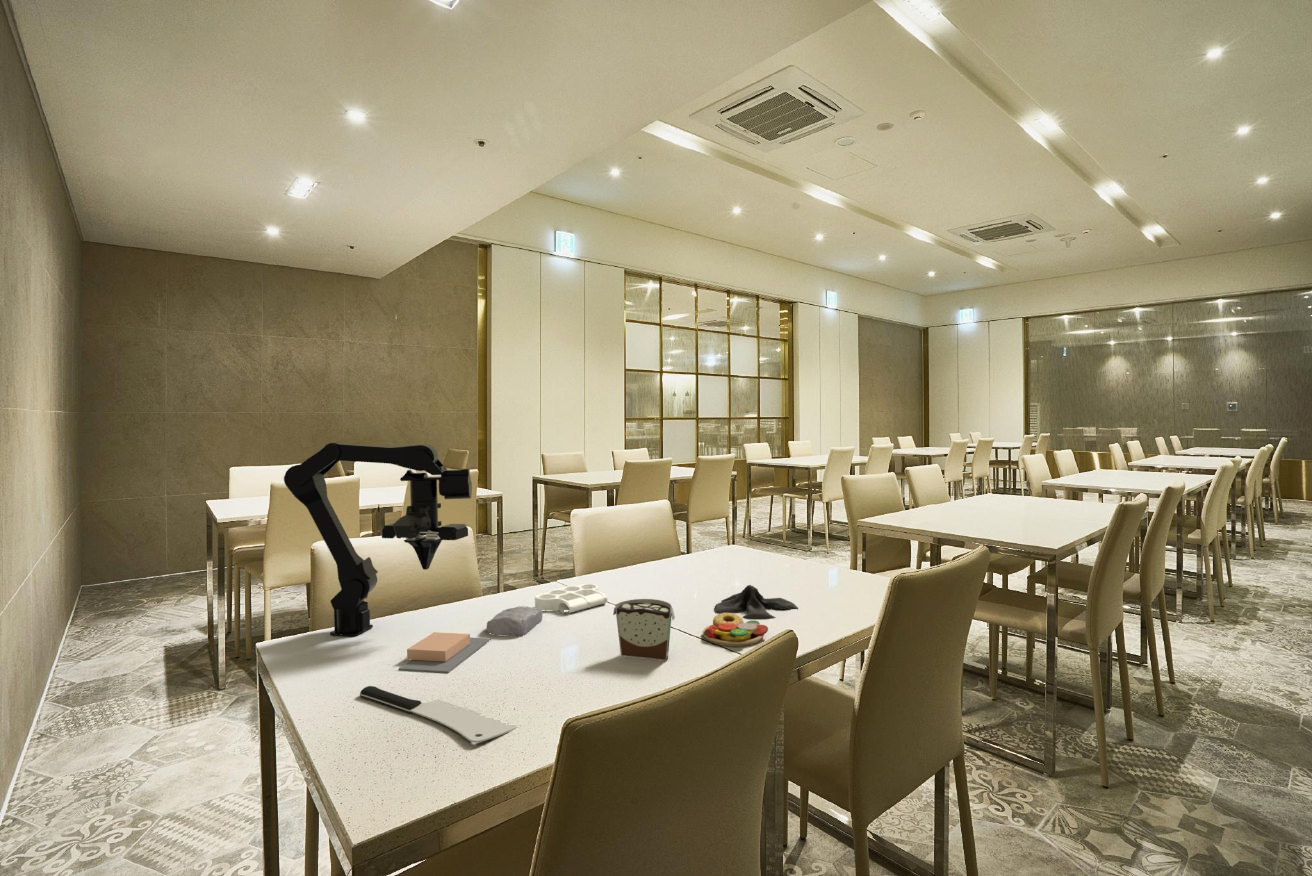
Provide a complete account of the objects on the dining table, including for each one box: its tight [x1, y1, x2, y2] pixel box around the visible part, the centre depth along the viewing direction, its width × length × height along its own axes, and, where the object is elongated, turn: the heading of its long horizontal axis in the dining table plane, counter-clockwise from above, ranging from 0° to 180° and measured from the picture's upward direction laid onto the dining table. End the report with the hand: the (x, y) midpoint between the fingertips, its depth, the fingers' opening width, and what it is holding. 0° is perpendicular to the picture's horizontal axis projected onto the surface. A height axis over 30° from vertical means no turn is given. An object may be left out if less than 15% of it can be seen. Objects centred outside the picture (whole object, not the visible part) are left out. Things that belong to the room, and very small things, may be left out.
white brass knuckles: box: [534, 583, 608, 615], centre depth 161 cm, size 3×18×15 cm
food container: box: [612, 598, 676, 662], centre depth 126 cm, size 12×6×10 cm, turn 71°
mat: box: [398, 636, 492, 674], centre depth 127 cm, size 10×18×1 cm, turn 169°
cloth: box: [714, 584, 799, 620], centre depth 156 cm, size 22×19×6 cm
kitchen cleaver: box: [359, 685, 519, 743], centre depth 102 cm, size 31×2×10 cm
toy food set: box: [702, 613, 769, 647], centre depth 135 cm, size 13×13×3 cm
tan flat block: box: [406, 631, 471, 662], centre depth 128 cm, size 2×10×8 cm
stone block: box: [486, 605, 543, 637], centre depth 144 cm, size 12×5×10 cm
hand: (425, 569), depth 145 cm, fingers closed
